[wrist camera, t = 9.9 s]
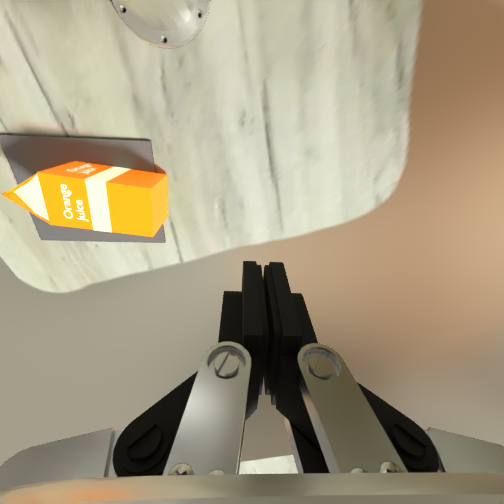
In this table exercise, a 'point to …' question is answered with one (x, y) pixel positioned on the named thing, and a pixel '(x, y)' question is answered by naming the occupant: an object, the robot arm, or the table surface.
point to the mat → (82, 150)
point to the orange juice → (96, 198)
